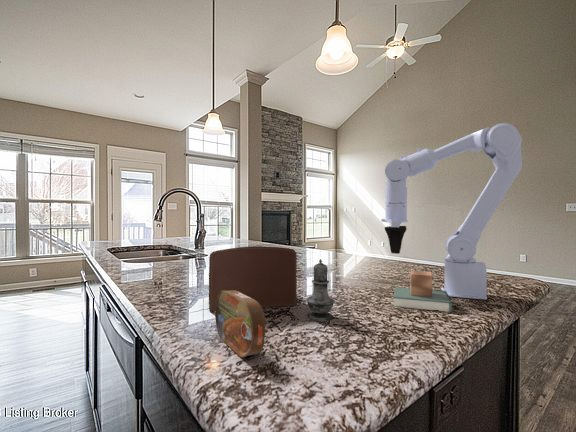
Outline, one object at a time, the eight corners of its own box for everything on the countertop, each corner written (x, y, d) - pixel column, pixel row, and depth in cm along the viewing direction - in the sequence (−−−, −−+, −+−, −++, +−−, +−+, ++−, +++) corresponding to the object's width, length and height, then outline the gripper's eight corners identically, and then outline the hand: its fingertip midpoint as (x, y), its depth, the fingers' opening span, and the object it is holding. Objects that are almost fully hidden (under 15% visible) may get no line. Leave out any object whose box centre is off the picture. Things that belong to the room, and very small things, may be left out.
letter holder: (297, 306, 72) (297, 245, 72) (209, 313, 67) (208, 248, 67) (286, 295, 82) (286, 241, 81) (208, 300, 77) (208, 243, 76)
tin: (213, 332, 56) (213, 286, 56) (230, 328, 58) (230, 283, 58) (249, 368, 43) (249, 308, 43) (269, 362, 45) (269, 304, 45)
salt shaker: (333, 323, 61) (334, 261, 61) (304, 320, 62) (304, 260, 62) (335, 313, 67) (335, 257, 66) (308, 311, 68) (308, 256, 68)
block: (430, 292, 75) (430, 271, 75) (431, 297, 71) (432, 275, 71) (410, 290, 77) (410, 270, 77) (410, 295, 73) (411, 274, 73)
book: (446, 301, 77) (446, 291, 77) (451, 313, 67) (452, 302, 67) (394, 296, 81) (394, 286, 81) (393, 307, 72) (393, 296, 72)
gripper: (382, 204, 96) (382, 248, 96) (379, 203, 83) (379, 254, 83) (407, 204, 94) (406, 249, 94) (408, 203, 80) (407, 255, 80)
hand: (395, 251), depth 88 cm, fingers open, 7 cm apart
